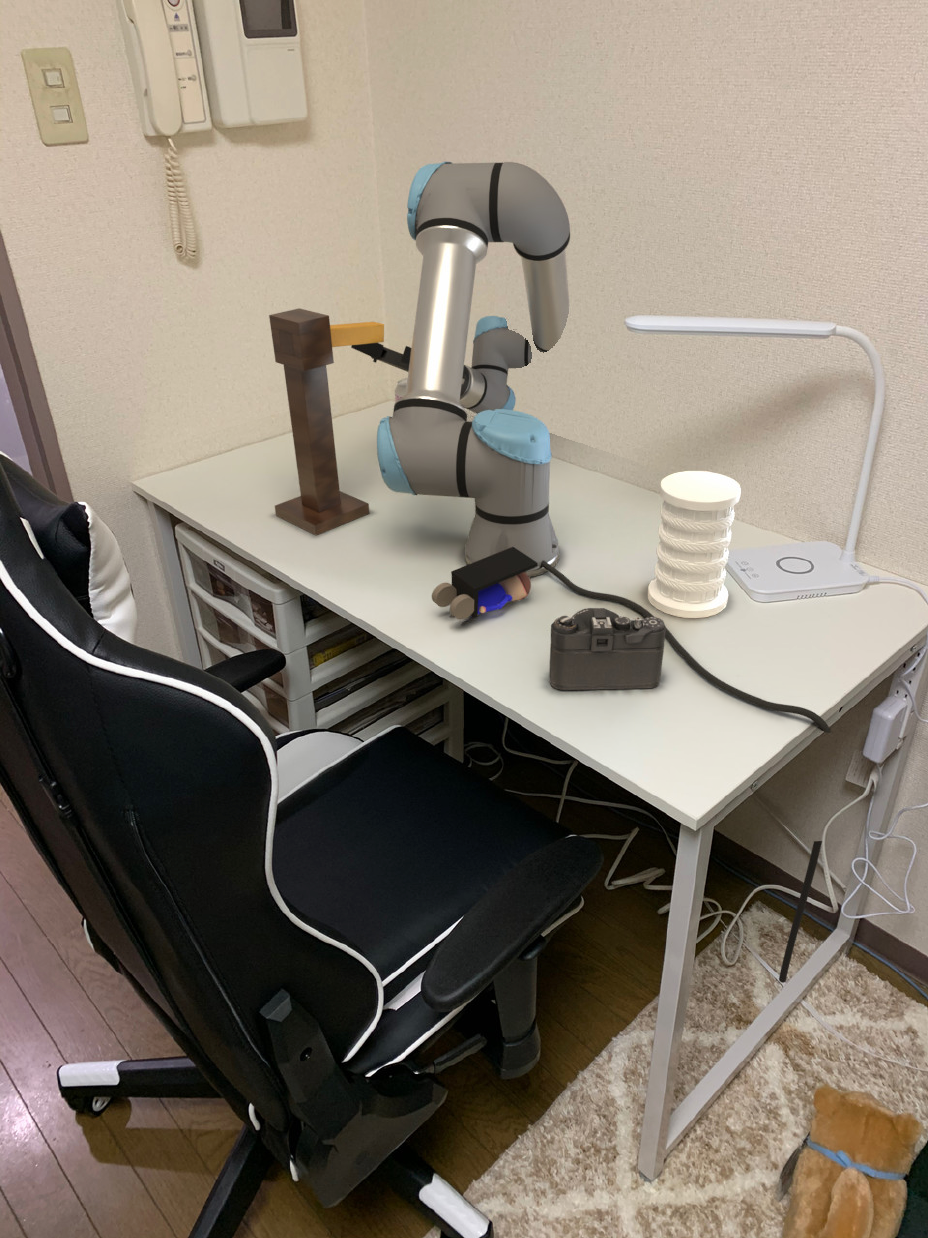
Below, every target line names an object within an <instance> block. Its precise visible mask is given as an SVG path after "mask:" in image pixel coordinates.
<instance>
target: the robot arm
mask: <svg viewBox="0 0 928 1238" xmlns="http://www.w3.org/2000/svg"><path fill="white" fill-rule="evenodd" d="M406 207H407V214H406V222H407V223H406V224H407V229H408V232H409V236H410V237H411V239H412V240H413V241H414V242H415V247H416V249H417V250H418V252H419V253H420V254H421V255H422V256H423V258H422V264H421V269H420V270H421V271H420V279H419V287H418V294H417V303H416V311H415V316H414V317H415V319H414V326H413V332H412V333H413V334H412V341H411V347H410V346H407V345H406V346H405V347H404V350H403V353H401V352H398V351H396V350H394V349H391V348H388V347H385V346H384V344H381V343H380V342H379V343H369V344H360V345H350V346H351V347H350V348H351V349H353V350H355V351H356V352H357V351H358V352H360V353H362V354H364V355H367V356H369V357H370V358H371V359H373V360H372V362H373V363H375V364H377V361H379V362H382V363H385V364H386V365H389V366H392V367H395V368H397V369H399V370H402V371H405V372H407V378H408V379H407V387H406V394H405V396H403V397H402V398H400V399H399V400H397V401H395V402H394V404H393V412H392V416H389V415H386V416H385V417H382V418H381V419H380V421H379V424H378V426H377V431H376V455H377V461H378V462H377V463H378V468H379V473H380V475H381V478H382V480H383V482H384V484H385V485H386V487H387V488H388V489H389V490H391V491H392V492H394V493H401V494H409V495H412V496H418V495H419V496H420V495H421V496H438V497H453V498H465V499H466V498H468V499H474V516H473V520H472V522H471V526H470V529H469V533H468V536H467V538H466V541H465V545H464V560H465V562H466V565H468V564H471V563H473V562H476V561H478V560H481V559H483V558H486V557H488V556H491V555H493V554H496V553H498V552H501V551H503V550H506V549H508V548H511V547H515V548H516V549H518V550H519V551H521V552H522V553H524V554H525V555H526V556H528V557H529V558H531V559H532V560H534V561H535V562H537V563H538V566H537V567H535V568H533V569H530V570H528V571H525V573H526V574H527V575H528V577H529V578H532V577H533V578H534V577H537V576H539V575H542V574H545V573H547V572H549V573H551V575H553V576H554V577H556V578H557V579H558V580H559V581H561V582H562V583H563V584H564V586H566V587H567V588H569V589H570V590H571V591H573V592H574V593H577V594H578V595H581V596H585V597H587V598H593V599H598V600H606V601H611V602H616V603H618V604H619V603H620V604H622V605H624V606H627V607H629V608H631V609H632V610H634V611H635V612H637V613H639V614H641V616H642V617H644V619H645V618H647V617H655V615H653V614H652V613H651V612H650V611H648V610H647V609H646V608H644V607H643V606H642V605H640V604H638V603H636V602H635V601H632V600H630V599H628V598H627V597H623V596H620V595H617V594H610V593H604V592H597V591H593V590H592V591H591V590H588V589H585V588H582V587H580V586H578V585H576V584H575V583H574V582H572V580H570V579H569V578H568V577H567V576H566V575H564V574H563V573H562V572H561V571H559V570H558V569H556V568H555V566H556V565H557V564H558V563H559V560H560V546H559V541H558V538H557V535H556V532H555V528H554V526H553V522H552V519H551V516H550V474H551V472H550V471H551V469H550V468H551V460H552V456H553V455H552V451H551V433H550V431H549V429H548V426H547V425H546V424H545V423H544V422H543V421H542V420H541V419H539V418H538V417H536V416H534V415H531V414H530V413H529V414H528V413H527V412H523V411H518V410H514V409H515V407H516V402H517V401H516V399H517V398H516V393H515V392H514V390H513V388H512V387H510V385H508V377H509V376H508V375H509V369H516V368H522V367H524V366H527V365H528V364H529V363H531V359H532V352H531V346H530V344H529V342H528V340H526V338H525V339H524V337H523V336H522V335H520V334H519V333H516V332H515V331H512V330H509V329H508V326H507V321H506V319H507V318H506V317H503V316H502V317H501V316H498V315H487V316H483V317H481V318H480V319H479V320H478V321H477V322H476V325H475V331H474V336H473V337H474V338H473V340H472V343H473V344H472V345H473V346H472V355H471V367H470V365H467V364H465V361H466V360H465V359H466V351H467V350H466V349H467V342H468V335H469V326H470V317H471V310H472V301H473V294H474V285H475V276H476V270H477V264H479V263H480V262H481V261H483V260H484V259H485V258H486V257H487V255H488V248H489V243H511V244H512V246H513V249H514V251H515V252H516V254H517V255H518V256H519V257H520V258H521V265H522V273H523V278H524V285H525V286H524V287H525V292H526V299H527V306H528V307H527V308H528V313H529V314H528V315H529V321H530V328H531V330H532V335H533V341H534V344H535V346H536V348H537V350H539V351H540V352H543V353H544V352H547V351H549V350H550V349H551V348H553V346H555V344H556V343H557V342H558V340H559V339H560V338H561V335H562V333H563V330H564V328H565V326H566V322H567V318H568V314H569V306H570V295H569V293H570V292H569V280H568V269H567V267H568V265H567V255H566V250H567V248H568V246H569V244H570V242H571V225H570V219H569V214H568V212H567V209H566V207H565V205H564V202H563V200H562V199H561V197H560V195H559V194H558V192H557V191H556V190H555V188H554V187H553V186H552V184H550V182H549V181H548V180H547V179H546V178H545V177H544V176H543V175H541V174H540V173H539V172H538V171H536V170H535V169H533V168H531V167H530V166H527V165H525V164H523V163H519V162H516V161H515V162H514V161H504V162H463V163H462V162H461V163H460V162H459V163H458V162H456V163H455V162H452V161H442V162H439V163H438V162H437V163H427V164H425V165H423V166H422V167H420V168H418V170H417V172H416V173H415V175H414V176H413V178H412V181H411V185H410V188H409V192H408V198H407V206H406ZM505 318H506V319H505ZM467 410H469V411H471V412H473V413H474V414H475V416H474V417H473V419H472V421H468V411H467ZM665 640H667V641H668V643H669V644H670V645H671V646H672V647H673V649H674V650H675V651H676V652H677V653H678V654H679V655H680V656H681V657H682V658H683V660H685V662H686V663H687V664H688V665H689V666H690V667H691V668H692V669H693V670H694V671H695V672H696V673H698V674H699V675H700V676H701V677H702V678H704V679H705V680H706V681H708V682H709V683H711V684H712V685H714V686H716V688H719V689H720V690H722V691H724V692H726V693H728V694H729V695H731V696H734V697H735V698H738V699H741V700H743V701H746V702H748V703H750V704H752V705H755V706H757V707H760V708H762V709H766V710H769V711H773V712H774V711H775V712H780V713H787V714H795V715H799V716H802V717H805V718H807V719H809V720H811V721H812V722H814V723H815V724H816V725H817V726H818V727H819V729H820V730H821V731H822V732H824V733H826V734H830V733H831V732H832V730H831V728H830V726H829V725H828V723H827V722H826V721H825V719H823V718H822V717H821V716H820V715H819V714H818V713H816V712H815V711H812V710H810V709H808V708H805V707H802V706H801V707H800V706H797V705H796V706H795V705H790V704H782V703H777V702H772V701H767V700H765V699H762V698H759V697H757V696H755V695H752V694H750V693H747V692H745V691H743V690H741V689H738V688H736V687H734V686H732V685H730V684H728V683H726V682H724V681H723V680H721V679H720V678H718V677H716V675H713V674H712V673H711V672H709V671H708V670H707V669H706V668H704V667H703V666H702V665H701V664H700V663H699V662H698V661H697V660H696V659H695V658H694V657H693V656H692V655H691V654H690V653H689V652H688V651H687V650H686V649H685V648H684V647H683V646H682V645H681V643H680V642H679V641H678V640H677V638H676V637H675V635H673V634H672V633H671V631H670V630H669V629H668V628H667V627H666V631H665ZM822 844H823V841H822V840H813V844H812V848H811V852H810V857H809V861H808V864H807V868H806V873H805V877H804V880H803V884H802V888H801V891H800V895H799V899H798V901H797V905H796V908H795V909H796V910H795V913H794V917H793V920H792V924H791V927H790V932H789V935H788V940H787V943H786V945H785V951H784V953H783V954H784V955H783V959H782V963H781V967H780V971H779V977H778V981H779V982H780V983H782V984H784V983H786V981H787V977H788V973H789V969H790V964H791V960H792V957H793V952H794V948H795V945H796V941H797V936H798V934H799V929H800V926H801V923H802V919H803V915H804V912H805V908H806V904H807V901H808V898H809V894H810V890H811V887H812V883H813V880H814V876H815V872H816V868H817V864H818V860H819V857H820V852H821V848H822Z"/></svg>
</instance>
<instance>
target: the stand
mask: <svg viewBox="0 0 928 1238" xmlns="http://www.w3.org/2000/svg"><path fill="white" fill-rule="evenodd" d="M268 317H269V318H268V319H269V325H270V332H271V339H272V347H273V353H274V361H275V363H277V364H280V365H283V371H284V378H285V387H286V394H287V402H288V410H289V417H290V423H291V433H292V439H293V446H294V455H295V462H296V470H297V477H298V485H299V492H300V495H299V496H297V497H294V498H292V499H288V500H286V501H283V502H280V503H278V504H275V505H274V512H275V516H276V517H278V518H280V519H282V520H284V521H286V522H288V523H290V524H292V525H294V526H296V527H298V528H300V529H302V530H304V531H305V532H308V533H310V534H312V535H314V536H318V535H321V534H323V533H326V532H328V531H331V530H333V529H335V528H339V527H340V526H342V525H345V524H348V523H350V522H352V521H355V520H357V519H360V518H363V517H364V516H367V515H369V514H370V503H368V502H367V501H364V500H362V499H359V498H357V497H356V496H353V495H350V494H348V493H346V492H343V491H341V489H340V482H339V480H340V479H339V473H338V472H339V471H338V462H337V453H336V444H335V443H336V442H335V435H334V426H333V425H334V423H333V416H332V415H333V414H332V407H331V397H330V387H329V378H328V369H327V366H329V365H332V364H334V363H335V360H334V351H333V347H332V340H331V330H330V325H331V323H330V322H331V320H330V315H328V314H323V313H319V312H316V311H312V310H309V309H303V308H294V309H290V310H286V311H281V312H277V313H272V314H269V315H268Z"/></svg>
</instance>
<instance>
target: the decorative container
mask: <svg viewBox="0 0 928 1238" xmlns="http://www.w3.org/2000/svg"><path fill="white" fill-rule="evenodd" d="M741 493H742V489H741V485H740V483H739V482H737V481H736V480H735V479H733V478H732V477H729V476H728V475H725V474H721V473H718V472H712V471H705V470H686V471H685V470H684V471H679V472H674V473H671V474H669V475H666V476H664V477H663V478H662V479H661V481H660V484H659V495H660V497H661V498H662V500H663V502H662V504H661V507H660V510H659V511H660V518H661V523H660V524H659V527H658V531H657V532H658V538H659V543H658V545H657V547H656V558H657V559H658V560H657V562H656V564H655V567H654V575H655V577H654V579H651V581H650V582H649V584H648V586H647V599H648V602H649V603H650V604H651V605H652V606H653V607H654V608H656V610H657V611H658V610H659V611H660V612H662V613H665V614H667V615H669V616H670V615H671V616H673V617H679V618H683V619H702V618H703V619H704V618H708V617H713V616H716V615H717V614H720V613H721V612H722V611H724V610H725V608H726V607H727V603H728V600H729V592H728V589H727V588H726V586H725V585H724V583H725V580H726V578H727V576H726V575H727V573H726V572H727V571H726V565H727V563H728V561H729V555H730V554H729V549H728V546H729V545H730V544H731V543H730V542H731V540H732V535H733V534H732V529H731V527H732V526H731V525H732V524H733V522H734V519H735V517H736V516H735V509H734V507H735V505H736V504H738V503H739V501H740V498H741Z"/></svg>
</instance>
